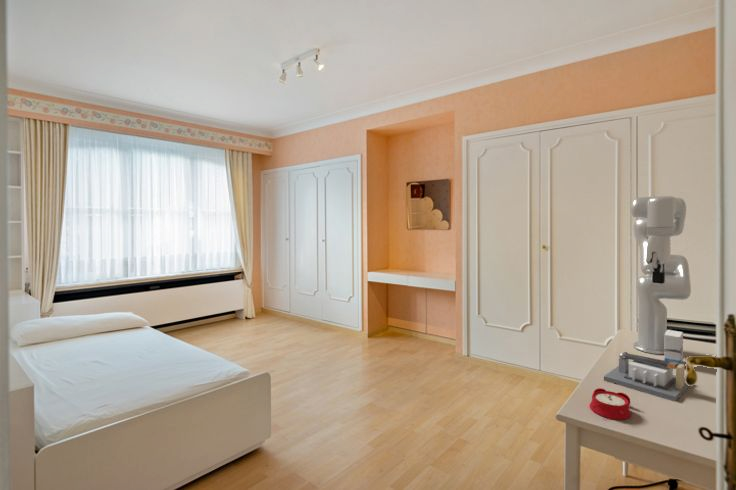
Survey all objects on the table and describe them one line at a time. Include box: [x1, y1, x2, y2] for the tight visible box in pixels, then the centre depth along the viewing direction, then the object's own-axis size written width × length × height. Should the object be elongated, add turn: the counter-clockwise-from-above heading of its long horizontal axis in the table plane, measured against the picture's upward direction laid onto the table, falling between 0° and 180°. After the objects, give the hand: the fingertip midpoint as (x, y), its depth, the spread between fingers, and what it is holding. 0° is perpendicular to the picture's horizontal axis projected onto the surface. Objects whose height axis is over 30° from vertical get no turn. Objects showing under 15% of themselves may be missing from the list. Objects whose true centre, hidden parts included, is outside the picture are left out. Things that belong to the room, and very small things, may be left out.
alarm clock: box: [589, 387, 632, 421], centre depth 114 cm, size 10×6×15 cm
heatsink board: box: [603, 357, 690, 402], centre depth 130 cm, size 18×20×8 cm
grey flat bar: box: [619, 351, 678, 370], centre depth 130 cm, size 16×4×2 cm, turn 37°
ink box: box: [663, 329, 684, 365], centre depth 145 cm, size 9×5×12 cm, turn 135°
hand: (658, 282), depth 136 cm, fingers closed
